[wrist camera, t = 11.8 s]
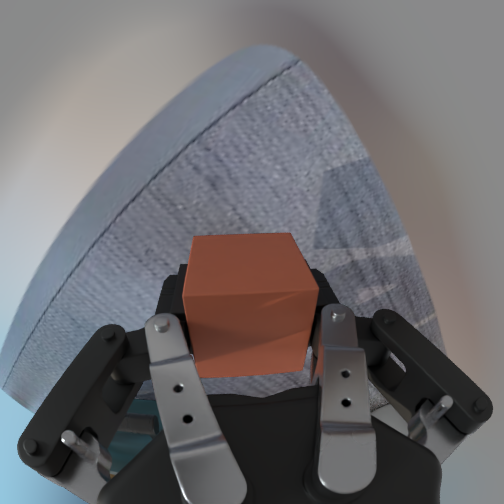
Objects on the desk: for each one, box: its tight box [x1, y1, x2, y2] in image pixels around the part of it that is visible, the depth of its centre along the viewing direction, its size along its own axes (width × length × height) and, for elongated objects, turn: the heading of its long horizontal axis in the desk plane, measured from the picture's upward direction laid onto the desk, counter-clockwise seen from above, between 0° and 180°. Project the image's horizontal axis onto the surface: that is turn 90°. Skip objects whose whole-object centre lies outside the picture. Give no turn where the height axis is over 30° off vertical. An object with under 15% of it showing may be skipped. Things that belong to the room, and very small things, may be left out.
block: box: [182, 233, 319, 378], centre depth 12 cm, size 4×4×4 cm
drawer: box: [108, 399, 163, 479], centre depth 18 cm, size 18×11×7 cm, turn 0°
